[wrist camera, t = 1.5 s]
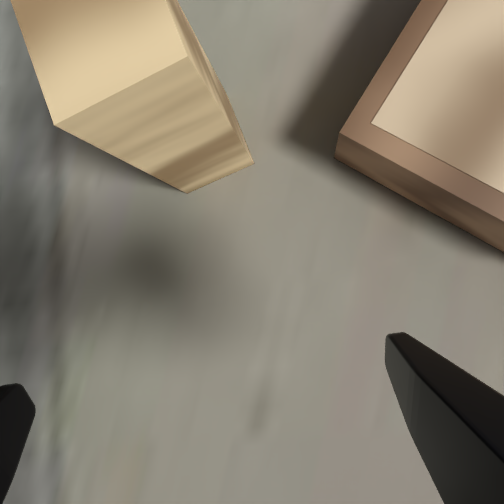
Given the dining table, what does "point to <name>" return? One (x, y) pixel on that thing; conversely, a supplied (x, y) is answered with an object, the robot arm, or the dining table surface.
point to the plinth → (439, 116)
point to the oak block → (134, 86)
